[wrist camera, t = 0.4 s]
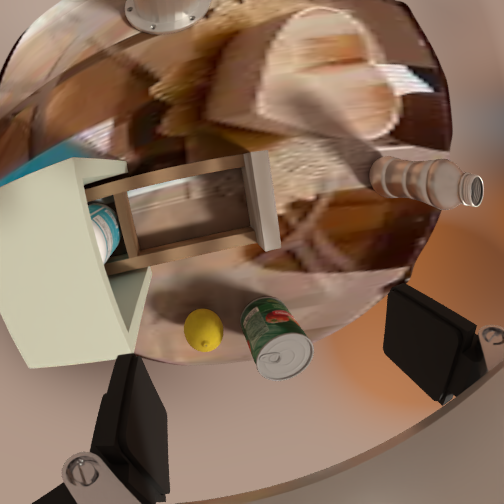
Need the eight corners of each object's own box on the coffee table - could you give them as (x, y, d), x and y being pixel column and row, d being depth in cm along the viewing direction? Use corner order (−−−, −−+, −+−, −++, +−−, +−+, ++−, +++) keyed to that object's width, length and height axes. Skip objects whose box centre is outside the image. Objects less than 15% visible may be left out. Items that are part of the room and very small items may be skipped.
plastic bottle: (364, 196, 43) (461, 222, 24) (363, 155, 41) (463, 160, 22) (393, 195, 44) (487, 218, 26) (392, 156, 42) (489, 164, 24)
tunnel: (80, 289, 37) (29, 368, 19) (51, 184, 32) (-34, 204, 14) (152, 274, 39) (133, 356, 21) (126, 161, 34) (72, 157, 16)
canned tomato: (292, 297, 45) (321, 333, 35) (281, 338, 47) (305, 379, 37) (244, 294, 43) (263, 333, 33) (236, 337, 45) (251, 382, 35)
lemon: (183, 330, 43) (185, 362, 35) (183, 299, 41) (184, 327, 34) (218, 331, 44) (226, 361, 37) (220, 300, 43) (228, 327, 35)
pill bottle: (69, 243, 35) (27, 277, 22) (84, 194, 34) (41, 209, 21) (114, 262, 37) (86, 305, 25) (131, 214, 36) (105, 239, 23)
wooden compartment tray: (58, 280, 35) (41, 300, 29) (37, 206, 32) (13, 214, 25) (265, 234, 41) (281, 247, 34) (253, 152, 37) (267, 150, 31)
